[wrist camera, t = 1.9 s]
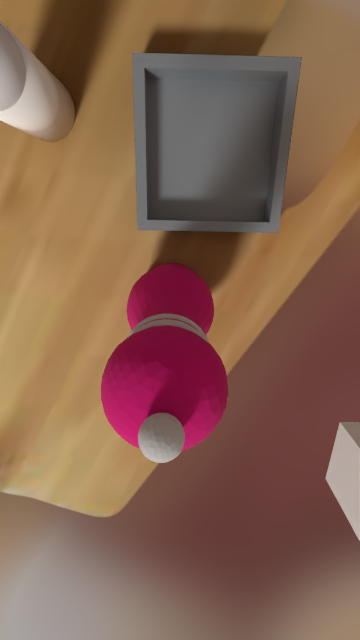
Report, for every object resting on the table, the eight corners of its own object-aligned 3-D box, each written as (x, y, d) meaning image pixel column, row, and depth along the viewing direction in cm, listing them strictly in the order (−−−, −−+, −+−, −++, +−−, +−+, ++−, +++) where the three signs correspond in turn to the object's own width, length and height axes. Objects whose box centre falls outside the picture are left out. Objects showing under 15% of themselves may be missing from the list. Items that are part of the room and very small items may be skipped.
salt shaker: (13, 74, 23) (-102, -17, 13) (71, 76, 23) (-4, -14, 13) (23, 141, 24) (-74, 101, 15) (77, 142, 24) (14, 103, 15)
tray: (137, 68, 23) (132, 52, 20) (289, 72, 23) (301, 57, 20) (141, 227, 27) (137, 230, 25) (269, 230, 27) (278, 232, 25)
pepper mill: (169, 240, 27) (152, 319, 9) (224, 293, 29) (305, 451, 10) (119, 295, 29) (15, 458, 10) (173, 342, 31) (165, 550, 12)
